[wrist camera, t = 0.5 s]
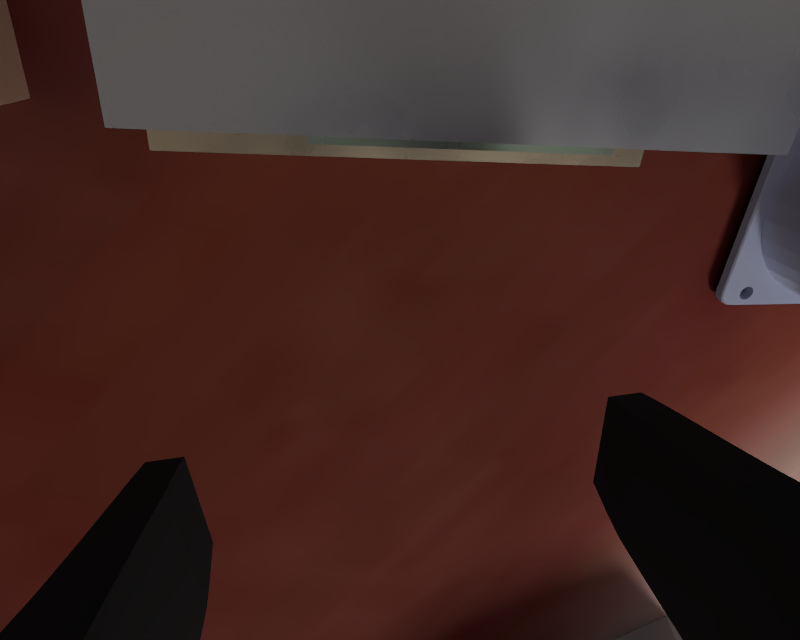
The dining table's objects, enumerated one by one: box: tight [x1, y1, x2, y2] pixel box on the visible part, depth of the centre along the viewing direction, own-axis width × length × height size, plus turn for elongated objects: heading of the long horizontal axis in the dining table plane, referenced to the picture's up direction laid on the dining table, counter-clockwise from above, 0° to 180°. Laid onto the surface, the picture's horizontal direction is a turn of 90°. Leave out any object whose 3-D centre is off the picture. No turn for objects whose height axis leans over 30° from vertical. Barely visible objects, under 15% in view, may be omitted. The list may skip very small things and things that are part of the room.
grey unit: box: [81, 0, 800, 167], centre depth 11 cm, size 14×6×7 cm, turn 86°
